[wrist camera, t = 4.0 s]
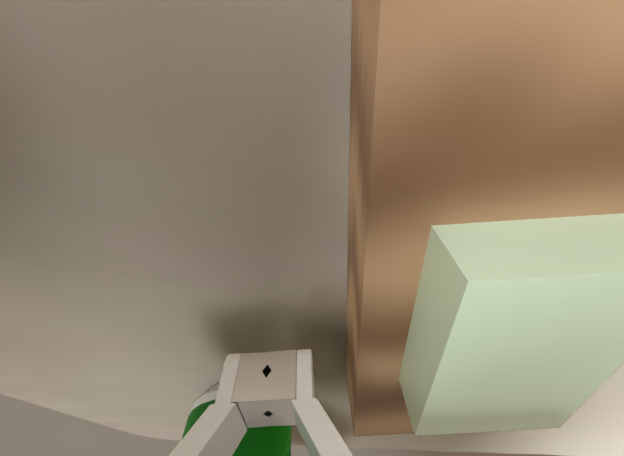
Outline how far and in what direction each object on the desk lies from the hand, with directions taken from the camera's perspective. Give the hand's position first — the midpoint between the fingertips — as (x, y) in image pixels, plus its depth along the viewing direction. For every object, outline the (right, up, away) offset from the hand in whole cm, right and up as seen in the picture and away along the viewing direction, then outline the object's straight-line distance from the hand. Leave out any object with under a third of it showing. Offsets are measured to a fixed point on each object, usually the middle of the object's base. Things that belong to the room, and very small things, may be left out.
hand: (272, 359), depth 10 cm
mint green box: (+8, +1, 0) cm, 8 cm away
